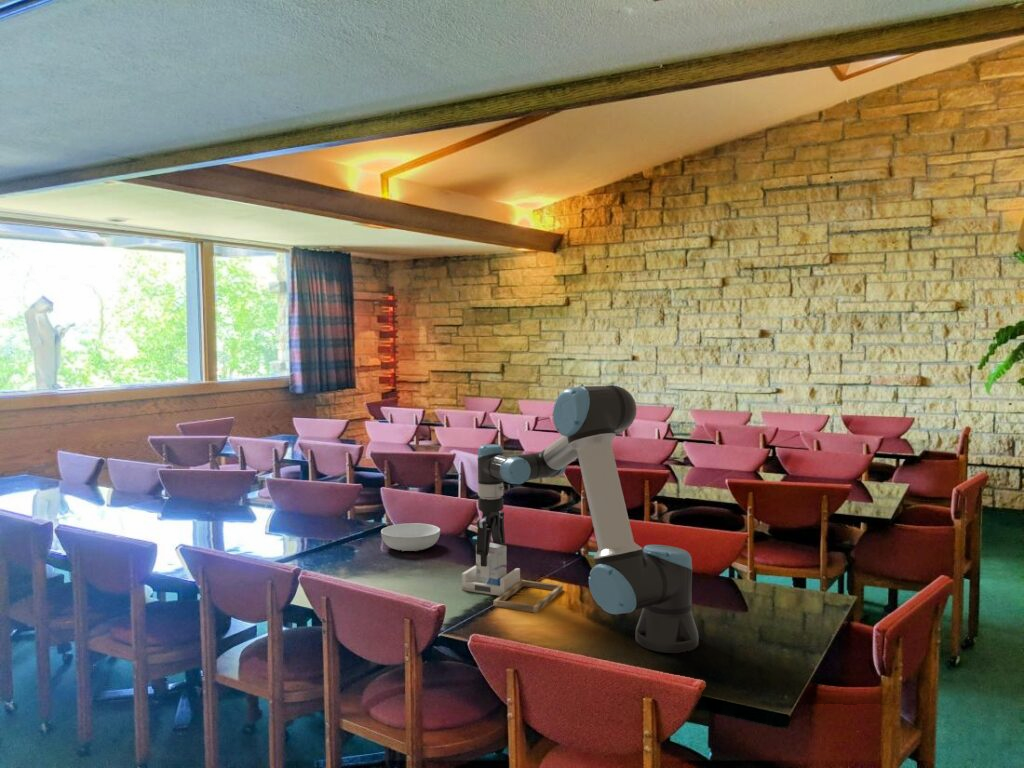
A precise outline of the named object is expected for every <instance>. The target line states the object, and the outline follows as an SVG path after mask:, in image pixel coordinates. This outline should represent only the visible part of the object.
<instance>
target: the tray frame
mask: <svg viewBox="0 0 1024 768" xmlns="http://www.w3.org/2000/svg"><path fill="white" fill-rule="evenodd" d="M524 587H528V588H534V589H542V590H547V591H548V590H549V591H550V592H549V593H548V594H547V595H545V596H544V598H542V599H541V600H539V602H537V603H536V604H535V605H531V604H527V603H519V602H514V601H513V602H512V601H508V599H510V597H511V596H513V595H514V594H516V593H517V592H518V591H519V590H521V589H523V588H524ZM563 590H564V589H563V585H562V584H555V583H554V584H553V583H547V582H542V581H541V582H539V581H534V580H533V581H532V580H527V579H520V582H519V583H517V584H516V585H514V586H513V587H512V588H510V589H509V590H508V591H506V592H505V593H503V594H502V595H501V596H497V597H496V598H495V599H494V600H493V601H492V602H493V603H492V604H493V607H498V608H503V609H511V610H517V611H522V612H531V613H536V614H537V613H538V612H539V611H540V610H542V609H543V608H544V607H545V606H547V604H549V603H550V602H551V601H552V600H554V598H556V597H557V596H558V595H559V594H561V592H563Z"/></svg>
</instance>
